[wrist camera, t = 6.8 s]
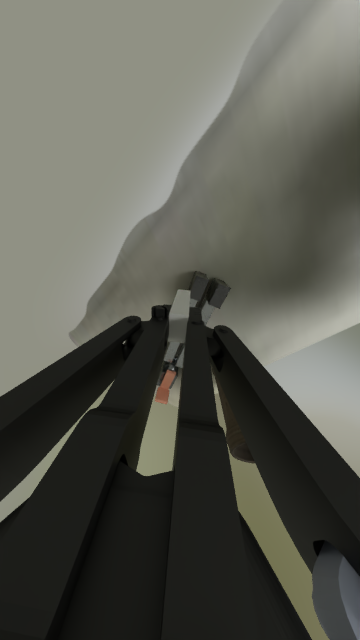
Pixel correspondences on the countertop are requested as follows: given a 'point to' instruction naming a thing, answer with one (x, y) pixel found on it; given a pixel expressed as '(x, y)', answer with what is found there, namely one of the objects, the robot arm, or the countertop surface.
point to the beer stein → (233, 430)
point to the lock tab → (165, 387)
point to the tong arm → (196, 294)
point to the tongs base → (211, 300)
